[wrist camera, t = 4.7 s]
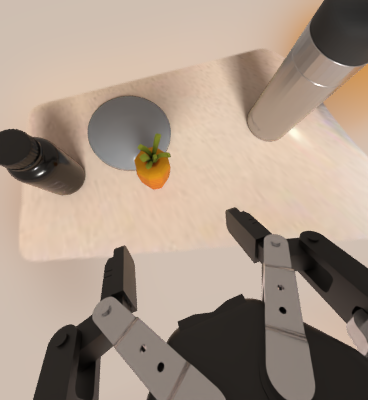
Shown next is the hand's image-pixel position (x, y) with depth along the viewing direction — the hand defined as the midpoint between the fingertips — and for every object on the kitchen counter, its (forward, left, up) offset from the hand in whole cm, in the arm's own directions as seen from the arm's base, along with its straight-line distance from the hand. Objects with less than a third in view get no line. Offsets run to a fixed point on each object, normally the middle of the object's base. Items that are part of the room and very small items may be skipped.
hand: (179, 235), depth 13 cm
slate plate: (0, -22, -19) cm, 29 cm away
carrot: (-1, -10, -19) cm, 22 cm away
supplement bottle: (+14, -17, -19) cm, 29 cm away
